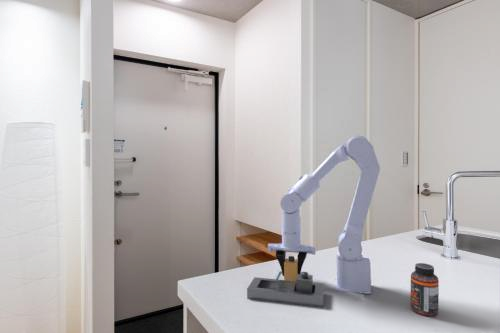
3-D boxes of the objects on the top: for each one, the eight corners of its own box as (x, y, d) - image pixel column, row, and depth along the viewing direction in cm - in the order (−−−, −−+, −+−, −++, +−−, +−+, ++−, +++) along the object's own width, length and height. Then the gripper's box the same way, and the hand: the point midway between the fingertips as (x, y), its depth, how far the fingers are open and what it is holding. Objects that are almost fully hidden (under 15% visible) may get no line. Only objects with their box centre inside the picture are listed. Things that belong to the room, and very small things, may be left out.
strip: (324, 294, 83) (324, 284, 83) (323, 308, 75) (323, 296, 75) (254, 287, 88) (254, 277, 88) (247, 299, 81) (247, 288, 81)
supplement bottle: (405, 305, 77) (405, 261, 76) (427, 304, 77) (427, 260, 77) (420, 318, 71) (420, 270, 70) (444, 316, 71) (444, 269, 71)
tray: (310, 276, 96) (310, 273, 96) (307, 290, 86) (307, 286, 86) (277, 273, 99) (277, 270, 99) (271, 286, 89) (271, 283, 89)
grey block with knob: (312, 296, 82) (312, 270, 82) (311, 303, 78) (311, 276, 78) (298, 295, 83) (297, 269, 83) (296, 302, 79) (296, 275, 79)
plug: (298, 278, 94) (298, 255, 94) (297, 283, 90) (297, 259, 90) (286, 276, 95) (285, 254, 95) (284, 281, 91) (284, 258, 91)
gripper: (316, 229, 94) (316, 272, 94) (270, 227, 98) (271, 268, 98) (314, 235, 87) (315, 281, 88) (266, 232, 91) (266, 276, 91)
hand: (291, 275), depth 92 cm, fingers closed on plug, 4 cm apart
